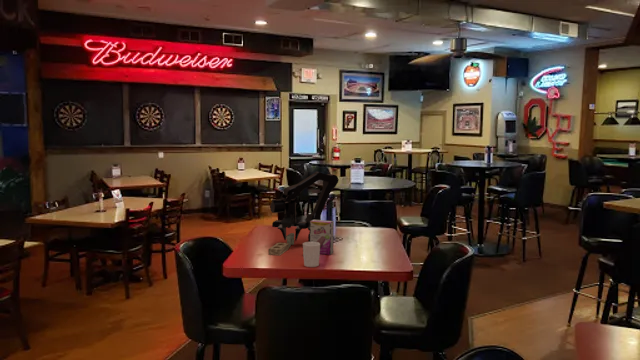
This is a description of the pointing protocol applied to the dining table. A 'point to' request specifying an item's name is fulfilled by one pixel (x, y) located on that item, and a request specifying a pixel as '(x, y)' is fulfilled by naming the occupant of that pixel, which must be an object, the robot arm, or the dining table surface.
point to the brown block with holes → (278, 249)
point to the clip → (290, 239)
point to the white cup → (311, 254)
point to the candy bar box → (322, 235)
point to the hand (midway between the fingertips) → (290, 240)
